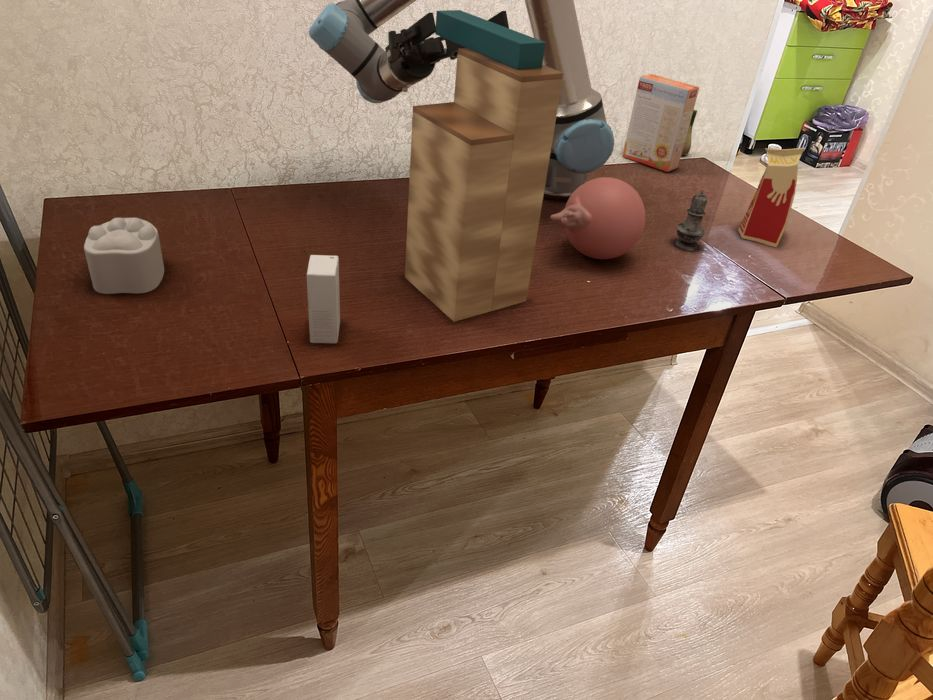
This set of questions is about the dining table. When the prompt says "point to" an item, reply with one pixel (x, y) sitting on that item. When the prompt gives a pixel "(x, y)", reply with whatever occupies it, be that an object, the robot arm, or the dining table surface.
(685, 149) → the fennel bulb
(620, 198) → the balloon
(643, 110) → the cracker box
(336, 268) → the cosmetic box
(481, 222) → the step stand
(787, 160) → the red printed carton
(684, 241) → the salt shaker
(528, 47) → the long teal rectangular block
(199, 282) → the dining table surface
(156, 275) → the lumpy-topped squat cylinder
